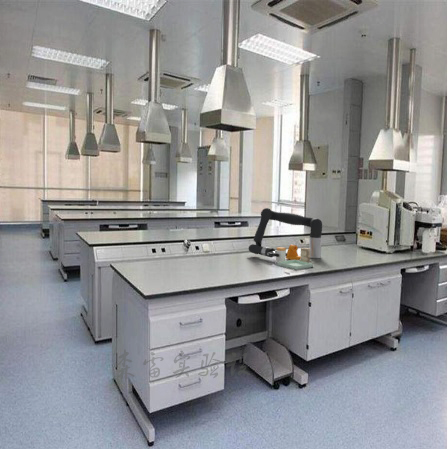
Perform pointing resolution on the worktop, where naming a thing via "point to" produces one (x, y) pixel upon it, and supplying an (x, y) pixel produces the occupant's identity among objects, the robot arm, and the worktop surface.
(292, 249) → the bracket
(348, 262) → the worktop surface
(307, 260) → the plain box
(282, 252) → the labelled box
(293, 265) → the tray
